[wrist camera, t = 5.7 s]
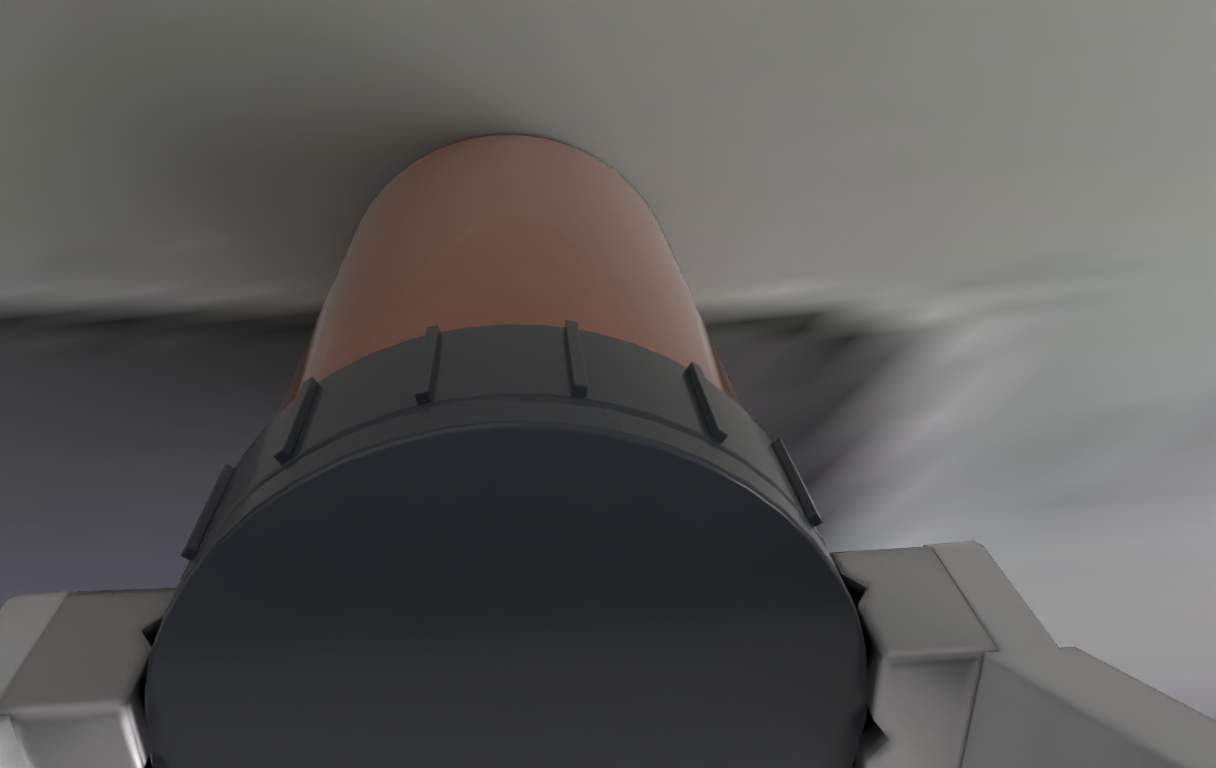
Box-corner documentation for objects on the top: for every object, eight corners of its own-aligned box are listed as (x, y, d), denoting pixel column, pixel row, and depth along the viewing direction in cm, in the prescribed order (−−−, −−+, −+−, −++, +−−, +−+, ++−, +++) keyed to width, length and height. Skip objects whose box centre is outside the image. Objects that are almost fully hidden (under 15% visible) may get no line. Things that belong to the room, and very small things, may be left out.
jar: (324, 137, 16) (115, 430, 7) (679, 129, 16) (867, 395, 8) (363, 448, 18) (239, 938, 10) (670, 434, 19) (807, 891, 10)
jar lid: (144, 329, 9) (54, 440, 7) (841, 305, 9) (918, 402, 7) (254, 834, 11) (209, 1001, 10) (790, 793, 12) (839, 947, 10)
